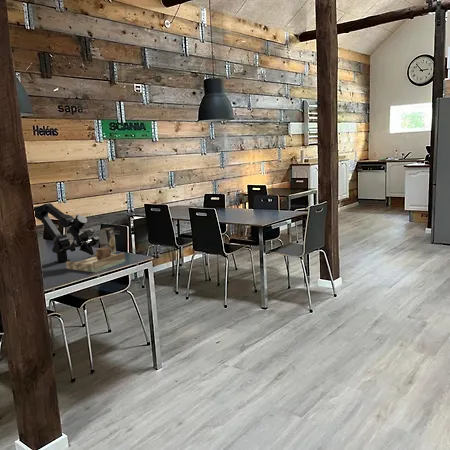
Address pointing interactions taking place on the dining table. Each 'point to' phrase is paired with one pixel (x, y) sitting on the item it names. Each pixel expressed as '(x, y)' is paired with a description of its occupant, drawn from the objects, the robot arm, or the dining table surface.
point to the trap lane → (96, 263)
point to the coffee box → (107, 239)
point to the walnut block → (103, 253)
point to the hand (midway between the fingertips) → (93, 254)
